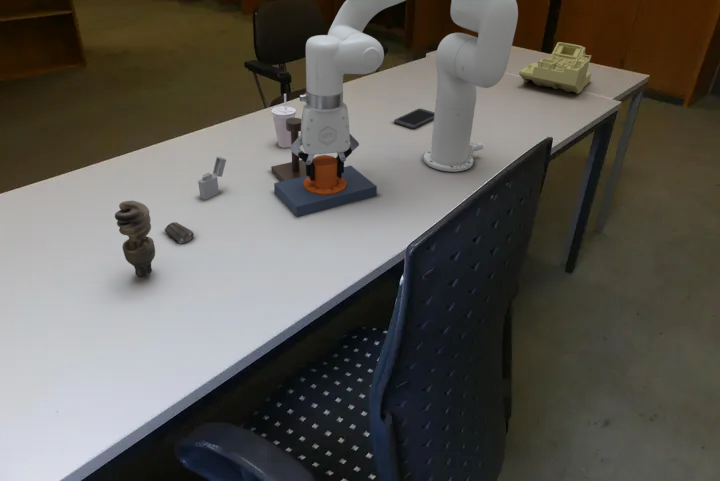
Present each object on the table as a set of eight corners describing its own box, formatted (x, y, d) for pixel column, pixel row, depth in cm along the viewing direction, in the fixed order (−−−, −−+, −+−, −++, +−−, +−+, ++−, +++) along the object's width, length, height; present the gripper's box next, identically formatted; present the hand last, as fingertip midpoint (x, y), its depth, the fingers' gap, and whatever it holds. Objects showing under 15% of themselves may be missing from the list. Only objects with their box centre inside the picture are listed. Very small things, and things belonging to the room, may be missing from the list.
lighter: (205, 200, 129) (200, 167, 124) (200, 197, 129) (195, 165, 125) (229, 188, 133) (226, 157, 129) (224, 186, 134) (220, 154, 130)
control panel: (541, 33, 207) (600, 36, 197) (539, 74, 216) (594, 80, 207) (517, 58, 192) (579, 64, 182) (516, 102, 202) (575, 109, 192)
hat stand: (304, 164, 145) (303, 111, 137) (321, 179, 138) (320, 124, 131) (271, 171, 141) (268, 117, 133) (286, 187, 135) (284, 131, 127)
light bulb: (133, 266, 107) (117, 195, 99) (164, 266, 108) (150, 195, 99) (126, 285, 103) (108, 212, 94) (157, 284, 103) (142, 211, 95)
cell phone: (439, 116, 174) (440, 113, 174) (413, 129, 165) (413, 127, 165) (419, 110, 178) (419, 107, 178) (392, 122, 169) (393, 120, 169)
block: (177, 227, 119) (176, 219, 118) (196, 237, 116) (195, 230, 115) (162, 234, 116) (161, 227, 116) (181, 245, 113) (180, 237, 112)
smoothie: (293, 151, 151) (291, 99, 144) (269, 148, 152) (266, 96, 145) (300, 141, 156) (298, 90, 149) (277, 139, 157) (274, 88, 150)
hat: (334, 171, 137) (334, 148, 133) (354, 189, 130) (355, 165, 126) (295, 180, 132) (294, 156, 129) (315, 199, 125) (314, 174, 122)
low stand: (350, 174, 141) (350, 165, 140) (376, 195, 132) (376, 186, 131) (274, 192, 132) (273, 183, 131) (296, 216, 124) (296, 206, 122)
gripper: (286, 108, 115) (289, 188, 125) (369, 102, 119) (366, 181, 129) (280, 95, 121) (284, 173, 131) (359, 90, 125) (357, 166, 135)
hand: (324, 176), depth 130 cm, fingers closed on hat, 5 cm apart
